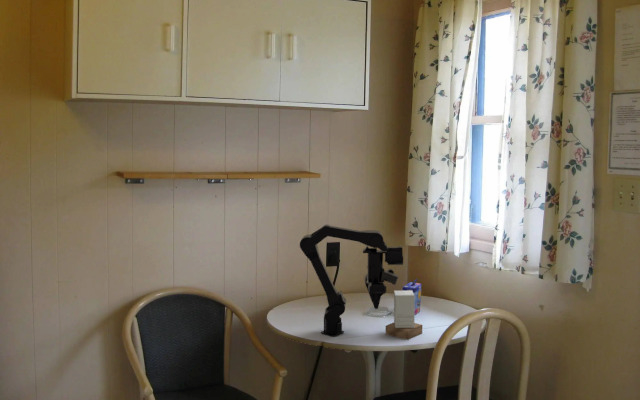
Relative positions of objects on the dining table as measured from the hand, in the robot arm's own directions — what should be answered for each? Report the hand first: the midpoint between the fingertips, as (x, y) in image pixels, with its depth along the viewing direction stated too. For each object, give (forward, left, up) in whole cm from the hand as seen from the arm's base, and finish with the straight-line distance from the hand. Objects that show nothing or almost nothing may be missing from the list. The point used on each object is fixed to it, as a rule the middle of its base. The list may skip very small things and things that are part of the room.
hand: (374, 305), depth 234 cm
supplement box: (+8, +8, -8) cm, 14 cm away
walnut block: (+8, +8, -12) cm, 16 cm away
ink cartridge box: (-6, +33, -11) cm, 35 cm away
